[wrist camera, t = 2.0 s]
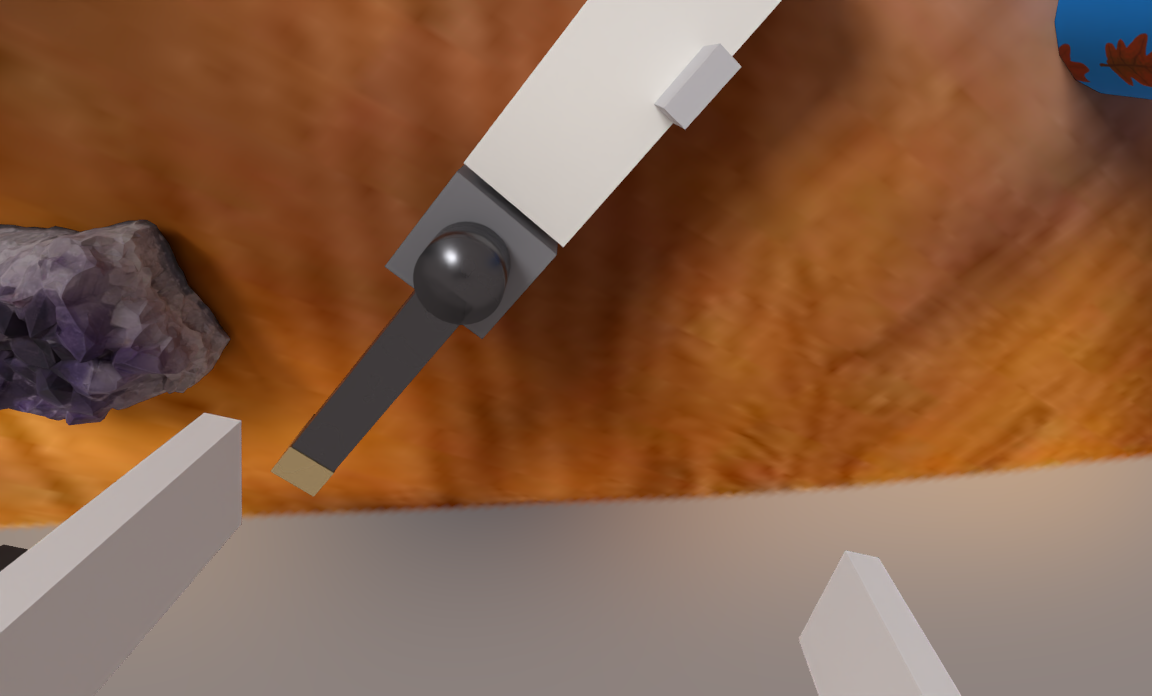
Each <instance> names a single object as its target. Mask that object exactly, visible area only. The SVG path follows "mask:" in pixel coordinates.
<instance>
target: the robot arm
mask: <svg viewBox="0 0 1152 696" xmlns="http://www.w3.org/2000/svg"><path fill="white" fill-rule="evenodd" d="M241 524H242V469H241V420H236V419H232V418H227V417H222V416H218V415H213V414H208V413H203V414H202V415H201V416H199V417H198V418H197V419H195V420H194V421H193V422H192V423H190V424H189V425H188V426H186V427H185V428H184V429H183V430H181V431H180V432H179V433H177V434H176V435H175V436H174V437H172V438H171V439H170V440H169V441H167V442H166V443H165V444H163V445H162V446H161V447H160V448H158V449H157V450H156V451H154V452H153V453H152V454H151V455H149V456H148V457H147V458H145V459H144V460H143V461H142V462H140V463H139V464H138V465H136V466H135V467H134V468H133V469H131V470H130V471H129V472H127V473H126V474H125V475H124V476H122V477H121V478H120V479H118V480H117V481H116V482H115V483H113V484H112V485H111V486H109V487H108V488H107V489H106V490H104V491H103V492H102V493H101V494H99V495H98V496H97V497H95V498H94V499H93V500H92V501H90V502H89V503H88V504H86V505H85V506H84V507H83V508H81V509H80V510H79V511H77V512H76V513H75V514H74V515H72V516H71V517H70V518H68V519H67V520H66V521H65V522H63V523H62V524H61V525H59V526H58V527H57V528H56V529H54V530H53V531H52V532H50V533H49V534H48V535H47V536H45V537H44V538H43V539H42V540H40V541H39V542H38V543H36V544H35V545H34V546H33V547H31V548H30V549H29V550H28V549H23V548H18V547H13V546H8V545H2V546H0V696H94V695H95V694H96V693H97V692H98V691H99V690H100V689H101V687H102V686H103V685H104V684H105V683H106V682H107V680H108V679H109V678H110V677H111V676H112V674H113V673H114V672H115V671H116V670H117V669H118V668H119V666H120V665H121V664H122V663H123V662H124V660H125V659H126V658H127V657H128V656H129V655H130V654H131V652H132V651H133V650H134V649H135V648H136V647H137V645H138V644H139V643H140V642H141V641H142V639H143V638H144V637H145V636H146V635H147V634H148V633H149V631H150V630H151V629H152V628H153V627H154V625H155V624H156V623H157V622H158V621H159V620H160V619H161V617H162V616H163V615H164V614H165V613H166V612H167V610H168V609H169V608H170V607H171V606H172V605H173V603H174V602H175V601H176V600H177V599H178V598H179V596H180V595H181V594H182V593H183V592H184V591H185V589H186V588H187V587H188V586H189V585H190V584H191V582H192V581H193V580H194V579H195V578H196V577H197V575H198V574H199V573H200V572H201V571H202V570H203V568H204V567H205V566H206V565H207V564H208V563H209V561H210V560H211V559H212V558H213V556H215V554H216V553H217V552H218V551H219V550H220V549H221V547H222V546H223V545H224V544H225V543H226V541H227V540H228V539H229V538H230V537H231V536H232V535H233V533H234V532H235V531H236V530H237V529H238V527H239V526H240V525H241ZM799 642H800V645H801V648H802V650H803V653H804V656H805V659H806V662H807V664H808V667H809V670H810V673H811V675H812V678H813V681H814V684H815V687H816V689H817V692H818V695H819V696H961V694H960V693H959V691H958V689H957V688H956V686H955V685H954V683H953V681H952V679H951V678H950V676H949V674H948V673H947V671H946V669H945V667H944V666H943V664H942V663H941V661H940V659H939V657H938V656H937V654H936V652H935V651H934V649H933V648H932V646H931V644H930V642H929V641H928V639H927V638H926V636H925V634H924V632H923V631H922V629H921V627H920V626H919V624H918V622H917V621H916V619H915V617H914V616H913V614H912V612H911V611H910V609H909V607H908V606H907V604H906V602H905V601H904V599H903V597H902V596H901V594H900V592H899V591H898V589H897V588H896V586H895V584H894V582H893V581H892V579H891V577H890V576H889V574H888V572H887V571H886V569H885V567H884V566H883V564H882V562H881V561H880V559H879V557H874V556H869V555H865V554H860V553H855V552H851V551H845V552H844V554H843V555H842V557H841V559H840V561H839V563H838V565H837V567H836V569H835V571H834V572H833V574H832V576H831V578H830V580H829V582H828V584H827V586H826V588H825V590H824V591H823V594H822V595H821V597H820V599H819V601H818V603H817V605H816V607H815V609H814V610H813V613H812V614H811V616H810V618H809V620H808V622H807V624H806V626H805V628H804V630H803V631H802V633H801V635H800V637H799Z"/></svg>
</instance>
